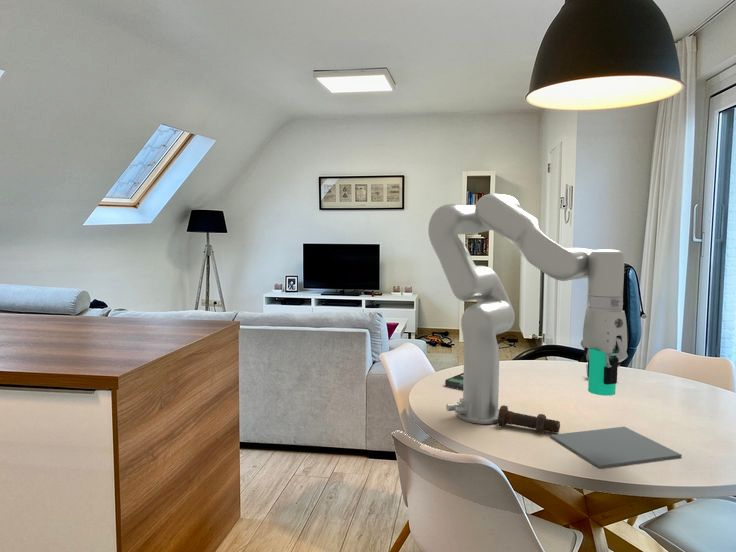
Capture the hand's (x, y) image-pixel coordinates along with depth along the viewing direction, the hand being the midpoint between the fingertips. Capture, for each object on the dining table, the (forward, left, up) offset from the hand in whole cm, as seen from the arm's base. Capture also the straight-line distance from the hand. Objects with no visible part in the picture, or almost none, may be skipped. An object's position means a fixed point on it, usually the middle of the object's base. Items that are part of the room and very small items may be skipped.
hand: (601, 379), depth 125 cm
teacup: (+40, +49, -17) cm, 65 cm away
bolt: (-9, +15, -17) cm, 25 cm away
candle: (0, 0, -3) cm, 3 cm away
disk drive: (-6, +56, -17) cm, 59 cm away
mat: (+4, 0, -17) cm, 17 cm away
